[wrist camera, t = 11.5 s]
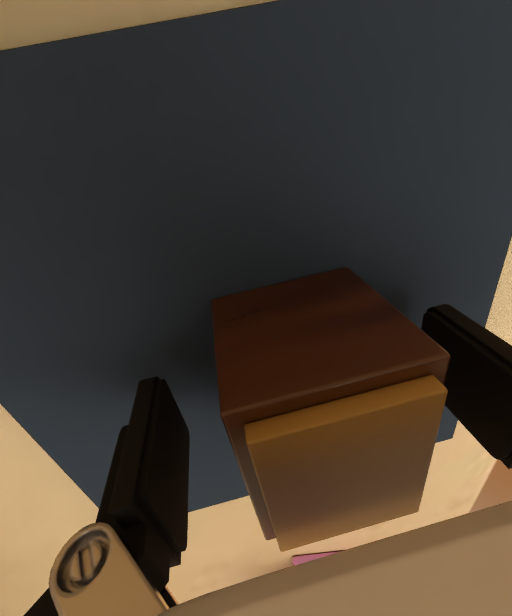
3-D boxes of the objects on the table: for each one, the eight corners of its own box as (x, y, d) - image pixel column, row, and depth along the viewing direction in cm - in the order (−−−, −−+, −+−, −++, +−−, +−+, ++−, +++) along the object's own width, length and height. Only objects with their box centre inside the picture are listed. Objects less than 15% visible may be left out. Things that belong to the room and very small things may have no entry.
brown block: (209, 298, 10) (220, 437, 5) (348, 265, 10) (472, 370, 6) (243, 411, 13) (269, 562, 8) (349, 384, 13) (429, 515, 9)
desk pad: (-249, 104, 6) (-288, 101, 6) (573, -46, 8) (600, -59, 7) (122, 520, 17) (120, 532, 16) (445, 430, 18) (452, 438, 17)
